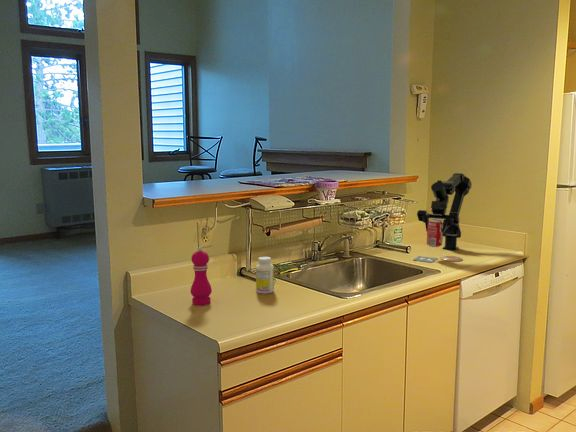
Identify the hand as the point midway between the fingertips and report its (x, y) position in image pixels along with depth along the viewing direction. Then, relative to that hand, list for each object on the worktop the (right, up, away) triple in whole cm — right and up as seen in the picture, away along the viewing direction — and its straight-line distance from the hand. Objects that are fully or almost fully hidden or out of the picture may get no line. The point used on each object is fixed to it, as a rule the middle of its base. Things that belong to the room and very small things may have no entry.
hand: (434, 231), depth 251 cm
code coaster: (-4, -13, +2) cm, 14 cm away
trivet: (+8, -13, +3) cm, 16 cm away
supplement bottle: (-76, -21, -47) cm, 92 cm away
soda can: (0, -7, +2) cm, 7 cm away
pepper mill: (-98, -23, -61) cm, 117 cm away
